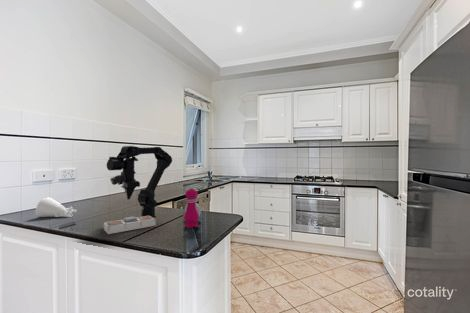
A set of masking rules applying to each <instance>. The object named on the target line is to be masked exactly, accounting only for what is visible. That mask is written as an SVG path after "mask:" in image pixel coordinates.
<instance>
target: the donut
mask: <svg viewBox="0 0 470 313" xmlns="http://www.w3.org/2000/svg"><path fill="white" fill-rule="evenodd" d="M186 210H187V203H186V204H185V206H184V208H183V213H184V215H185V212H186ZM196 210H197V212H198V215H199V217H200V215H201V212H202V211H201V206H200V205H199V204H198V203H197V202H196Z"/></svg>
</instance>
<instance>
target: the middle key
mask: <svg viewBox="0 0 470 313" xmlns="http://www.w3.org/2000/svg"><path fill="white" fill-rule="evenodd" d="M123 219H124V222H125V223H130V222H136V221H137V218H136V216H127V217H123Z"/></svg>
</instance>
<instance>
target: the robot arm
mask: <svg viewBox="0 0 470 313" xmlns="http://www.w3.org/2000/svg"><path fill="white" fill-rule="evenodd" d="M149 154H151V155H154V158H155V159H156V168H155V170H154V172H153V174H152V176H151V178H150V180H149V181H148V184H147V186H146V187H145V189H140V191H139V193H138V194H137V201H138V202H137V203H139V206H140V207H141V210H140V217H142V216H151V217H153V218H157V216H156V207H157V206H158V201H157V200H156V199H155V197H156V195H155V194H156V193H155V190H156V189H157V187H158V185H159V183H160V181H161V178H162V176H163V174H164V172H165V170H166V169H168V168H169V167H170V165H171V164H172V162H173V158H172V156H171V155H170V154H169V153H167V151H165V150H164V149H163V148H162V147H161V146H153V147H138V146H135V145H124V146H122V147H121V148H120V151H119V153H118V155H116V156H109V157H108V160H107V162H106V169H107V170H108V171H121V172H120V174H119V175H118V174H117V175H115V176H114V177H111V178H110V182H111V185H113V186H114V185H119V186H120V187H121V188H122V189H123V190H124V192H125V195H126V196H125V197H126V200H130V199H131V197H132V196H133V193H134V191H135V189H136V188H138V187H139V188H140V187H141V183H140V181H139V180H136V179H135V174H136V173H137V172H136V171H135V162H139V159H138V158H137V156H140V155H149Z"/></svg>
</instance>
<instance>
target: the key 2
mask: <svg viewBox="0 0 470 313" xmlns="http://www.w3.org/2000/svg"><path fill="white" fill-rule="evenodd" d="M149 219H151V218H150V217H142V218H139V220H141V221H142V220H149Z"/></svg>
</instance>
